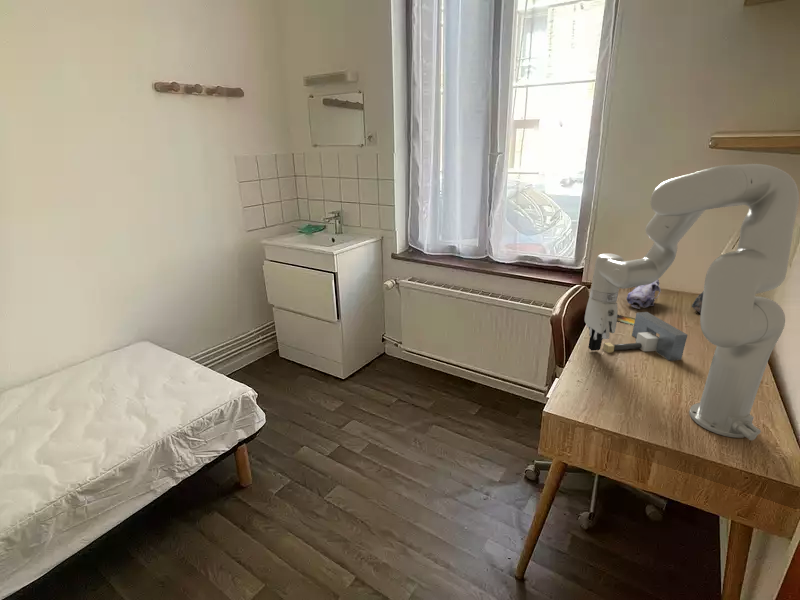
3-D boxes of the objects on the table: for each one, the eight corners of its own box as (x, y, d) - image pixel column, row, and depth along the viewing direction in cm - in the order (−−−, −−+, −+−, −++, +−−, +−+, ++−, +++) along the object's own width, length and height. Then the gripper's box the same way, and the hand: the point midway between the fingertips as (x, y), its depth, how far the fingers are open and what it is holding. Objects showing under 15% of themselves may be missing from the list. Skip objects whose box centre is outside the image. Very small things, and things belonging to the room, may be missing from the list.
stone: (693, 316, 166) (703, 279, 160) (683, 304, 177) (692, 269, 172) (733, 320, 162) (744, 282, 156) (721, 308, 174) (731, 272, 168)
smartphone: (611, 313, 168) (656, 322, 159) (611, 315, 168) (655, 324, 160) (607, 319, 163) (652, 329, 154) (607, 321, 163) (652, 330, 154)
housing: (681, 359, 134) (687, 334, 131) (669, 360, 133) (675, 335, 130) (642, 334, 150) (647, 312, 147) (631, 335, 150) (636, 312, 147)
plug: (656, 350, 140) (660, 337, 138) (609, 354, 137) (611, 341, 136) (647, 344, 144) (650, 331, 142) (601, 347, 142) (603, 335, 140)
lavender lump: (666, 304, 177) (671, 281, 174) (645, 314, 167) (650, 289, 164) (641, 297, 185) (646, 275, 181) (620, 306, 175) (625, 283, 171)
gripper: (630, 303, 126) (619, 359, 132) (600, 286, 139) (591, 338, 146) (606, 304, 125) (596, 361, 131) (579, 287, 138) (571, 339, 145)
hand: (594, 349), depth 139 cm, fingers closed
